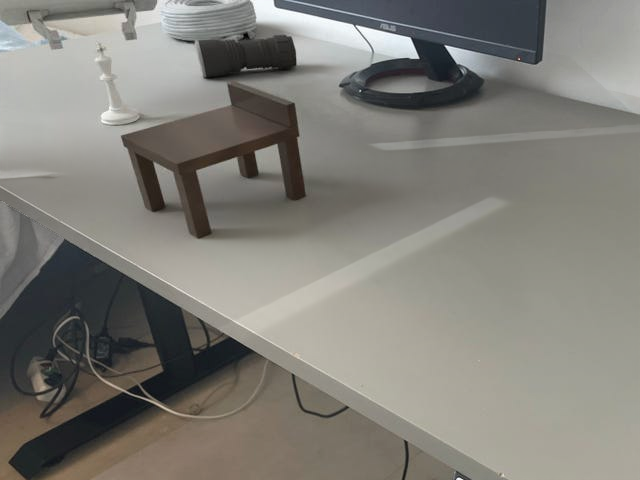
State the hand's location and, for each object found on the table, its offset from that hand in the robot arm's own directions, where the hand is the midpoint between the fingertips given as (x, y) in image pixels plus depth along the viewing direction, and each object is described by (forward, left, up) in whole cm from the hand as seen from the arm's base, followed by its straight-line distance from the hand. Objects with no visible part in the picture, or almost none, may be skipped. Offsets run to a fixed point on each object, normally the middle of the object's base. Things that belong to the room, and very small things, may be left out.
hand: (94, 42), depth 97 cm
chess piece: (-1, -4, -9) cm, 10 cm away
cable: (+34, +29, -9) cm, 45 cm away
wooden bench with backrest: (-6, -38, -9) cm, 40 cm away
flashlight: (+24, +2, -9) cm, 26 cm away
